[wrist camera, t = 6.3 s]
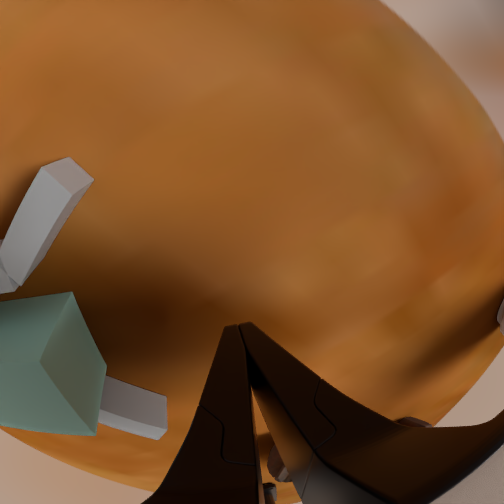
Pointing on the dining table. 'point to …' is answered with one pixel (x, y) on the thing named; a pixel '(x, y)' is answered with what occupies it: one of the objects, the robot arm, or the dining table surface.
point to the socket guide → (32, 253)
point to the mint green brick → (49, 367)
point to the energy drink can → (501, 317)
